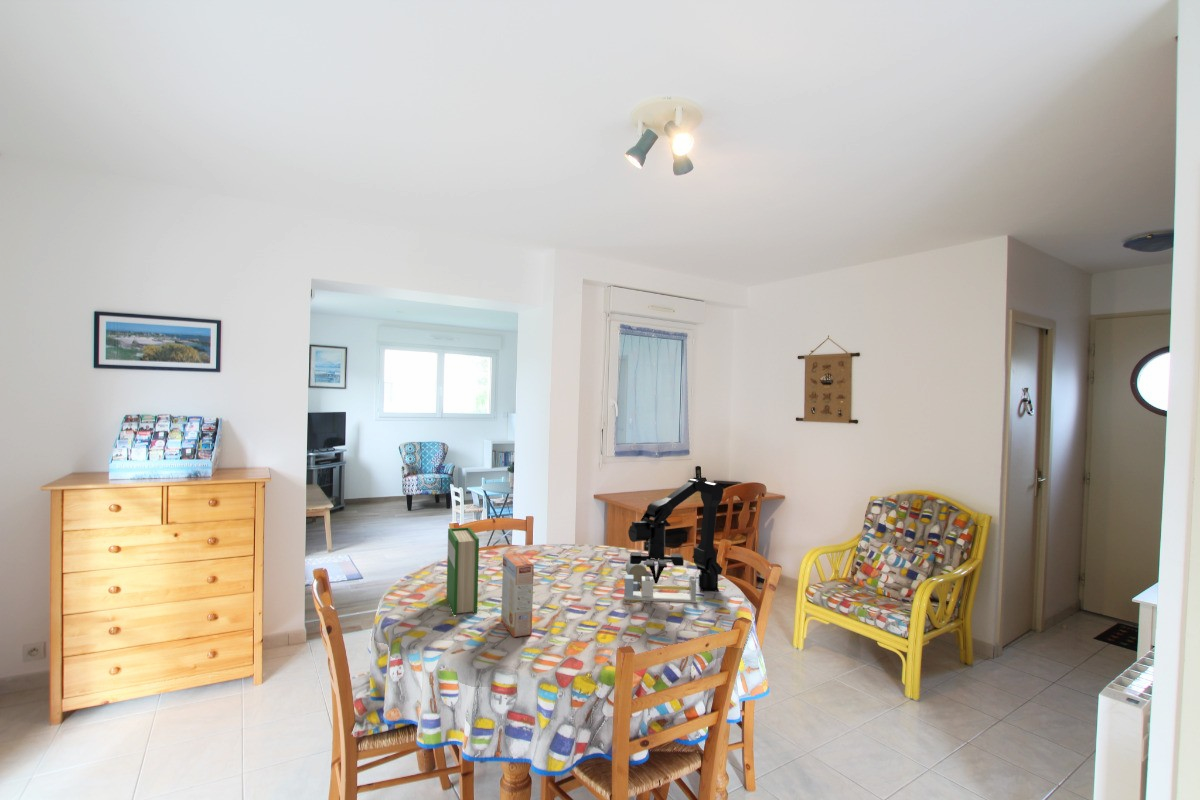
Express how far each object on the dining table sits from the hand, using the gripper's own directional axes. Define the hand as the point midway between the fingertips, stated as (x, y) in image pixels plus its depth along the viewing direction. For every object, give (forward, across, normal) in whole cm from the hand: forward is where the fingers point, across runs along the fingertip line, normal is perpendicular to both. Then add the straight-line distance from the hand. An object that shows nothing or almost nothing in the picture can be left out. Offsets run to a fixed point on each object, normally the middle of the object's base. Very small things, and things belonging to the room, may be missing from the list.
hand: (655, 583), depth 192 cm
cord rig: (+5, -2, 0) cm, 5 cm away
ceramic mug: (+5, +5, -19) cm, 21 cm away
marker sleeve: (+4, +3, 0) cm, 5 cm away
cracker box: (+5, +44, +31) cm, 54 cm away
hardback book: (+5, +66, +15) cm, 67 cm away
